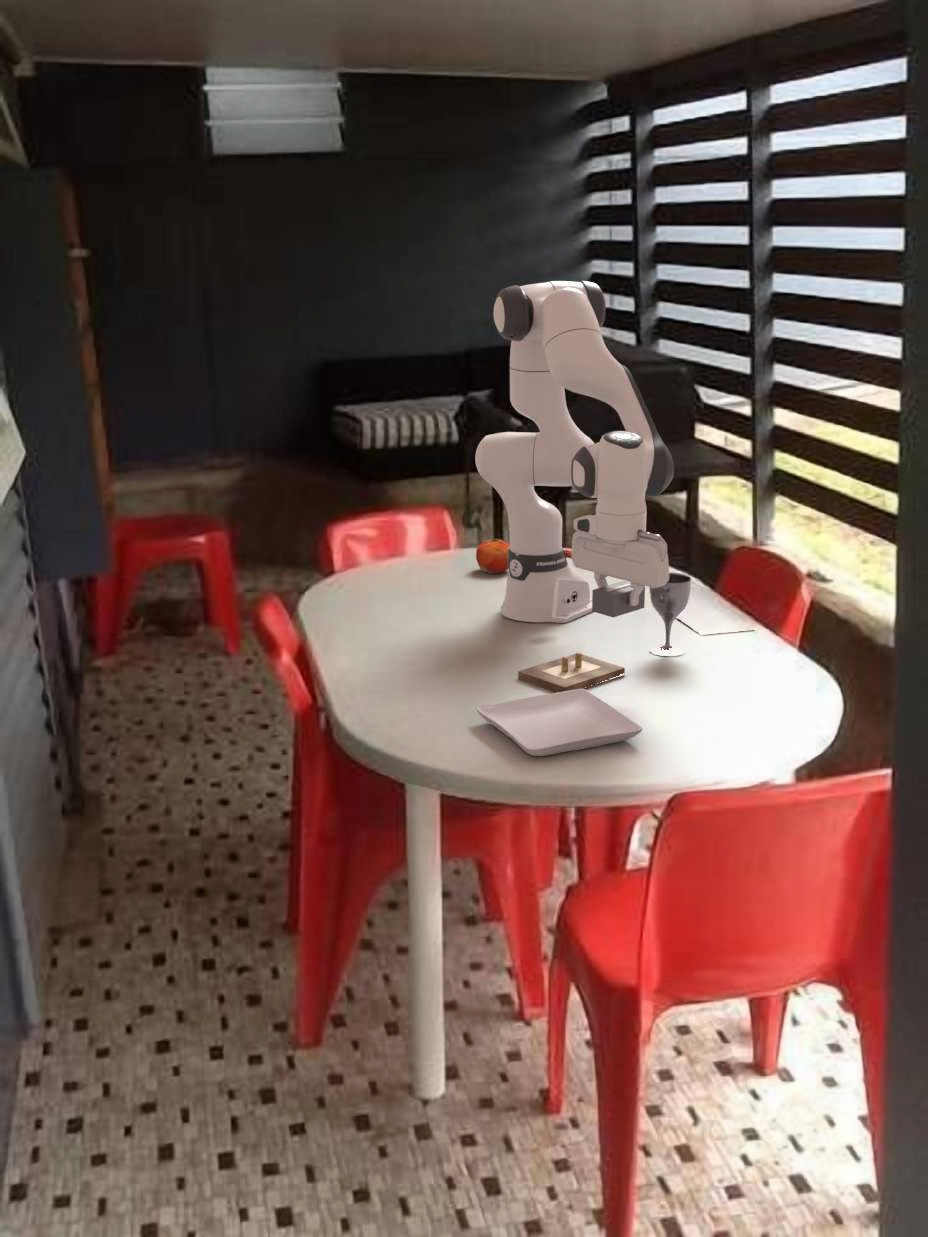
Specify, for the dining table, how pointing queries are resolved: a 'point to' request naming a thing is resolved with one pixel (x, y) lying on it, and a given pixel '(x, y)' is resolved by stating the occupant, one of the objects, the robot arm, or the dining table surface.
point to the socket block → (615, 599)
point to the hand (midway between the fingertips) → (618, 601)
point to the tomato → (493, 556)
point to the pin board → (570, 673)
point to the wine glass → (671, 600)
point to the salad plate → (559, 722)
